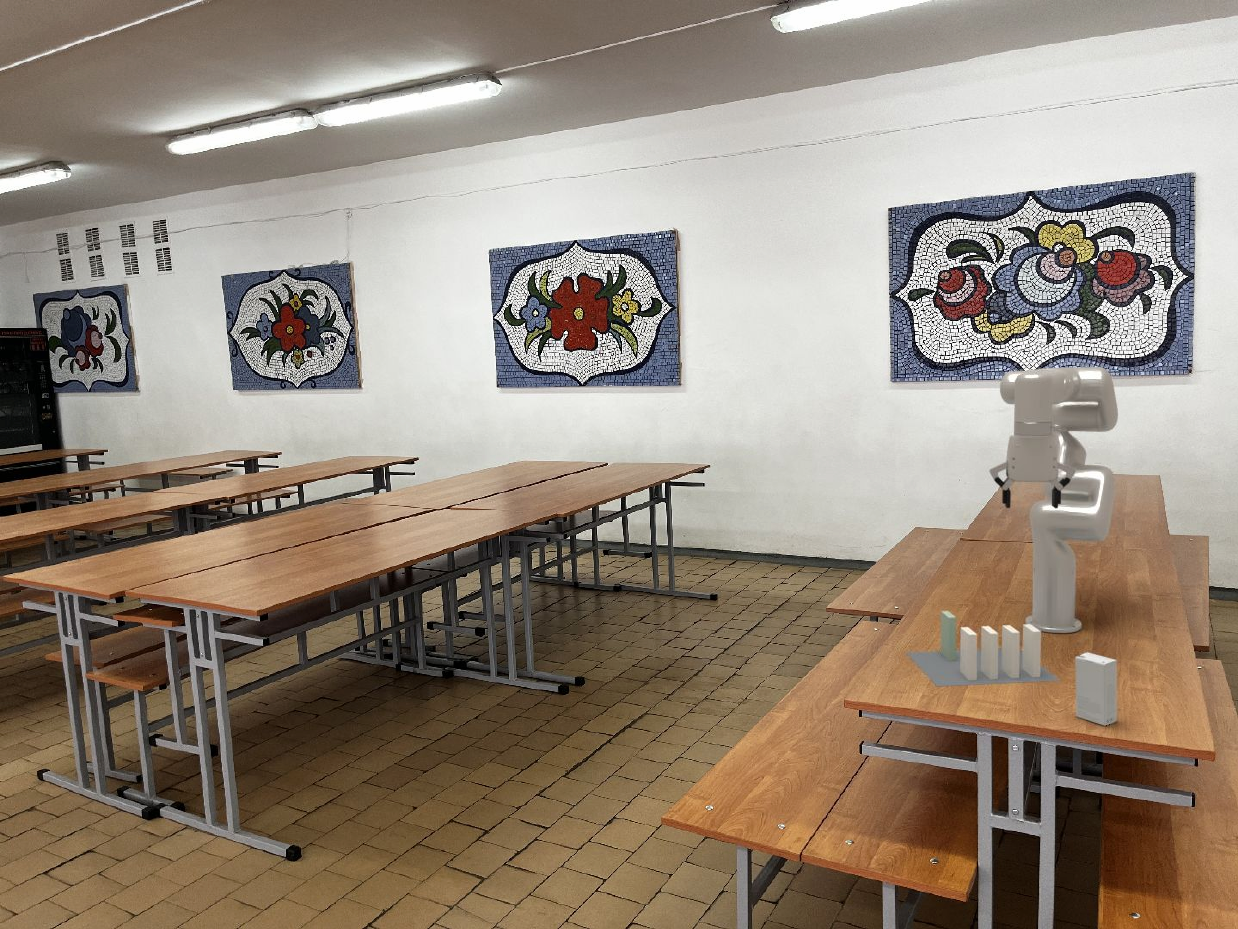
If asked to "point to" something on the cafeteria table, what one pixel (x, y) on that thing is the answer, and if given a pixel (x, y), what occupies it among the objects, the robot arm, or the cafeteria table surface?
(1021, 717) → the cafeteria table surface
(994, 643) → the domino
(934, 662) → the slate mat
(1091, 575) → the cafeteria table surface
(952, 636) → the domino end
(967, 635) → the domino
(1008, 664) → the domino
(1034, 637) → the domino
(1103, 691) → the skincare box
